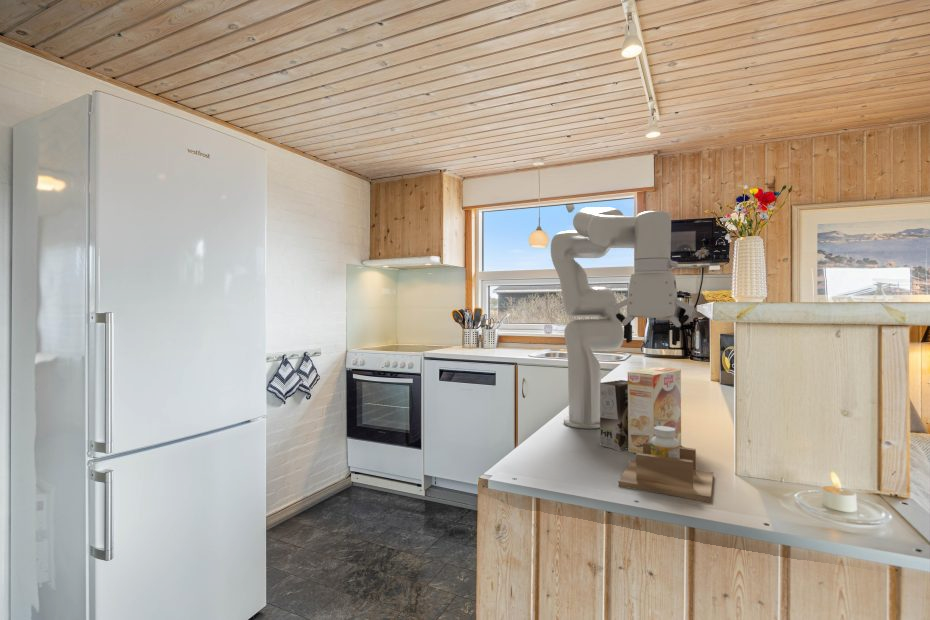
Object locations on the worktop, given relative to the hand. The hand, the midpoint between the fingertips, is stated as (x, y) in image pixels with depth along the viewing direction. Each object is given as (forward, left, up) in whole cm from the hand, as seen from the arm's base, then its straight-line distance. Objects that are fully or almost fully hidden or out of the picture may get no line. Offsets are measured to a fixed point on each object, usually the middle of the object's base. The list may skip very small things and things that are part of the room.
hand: (651, 343), depth 103 cm
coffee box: (-10, -9, -27) cm, 30 cm away
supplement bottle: (+11, +4, -26) cm, 28 cm away
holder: (+11, +4, -27) cm, 29 cm away
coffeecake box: (-11, -1, -27) cm, 29 cm away
